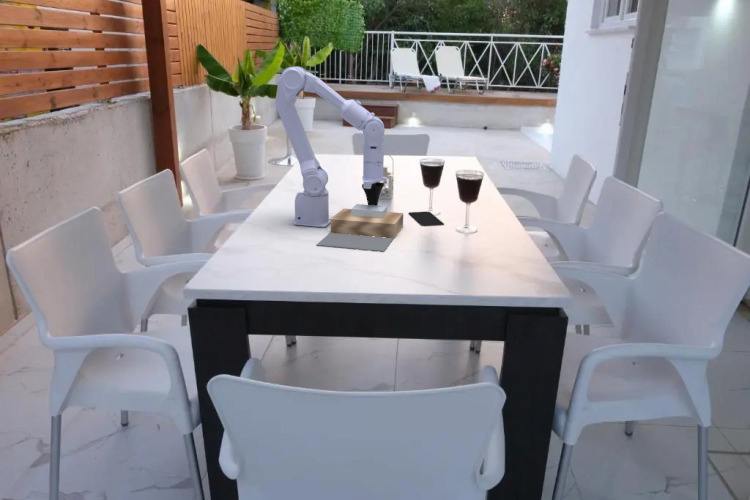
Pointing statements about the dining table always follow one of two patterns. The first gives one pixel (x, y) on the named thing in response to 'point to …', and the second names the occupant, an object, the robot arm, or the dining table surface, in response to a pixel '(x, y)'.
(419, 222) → the smartphone
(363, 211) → the tile
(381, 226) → the tan flat wooden block
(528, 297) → the dining table surface
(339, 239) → the mat
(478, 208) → the dining table surface
